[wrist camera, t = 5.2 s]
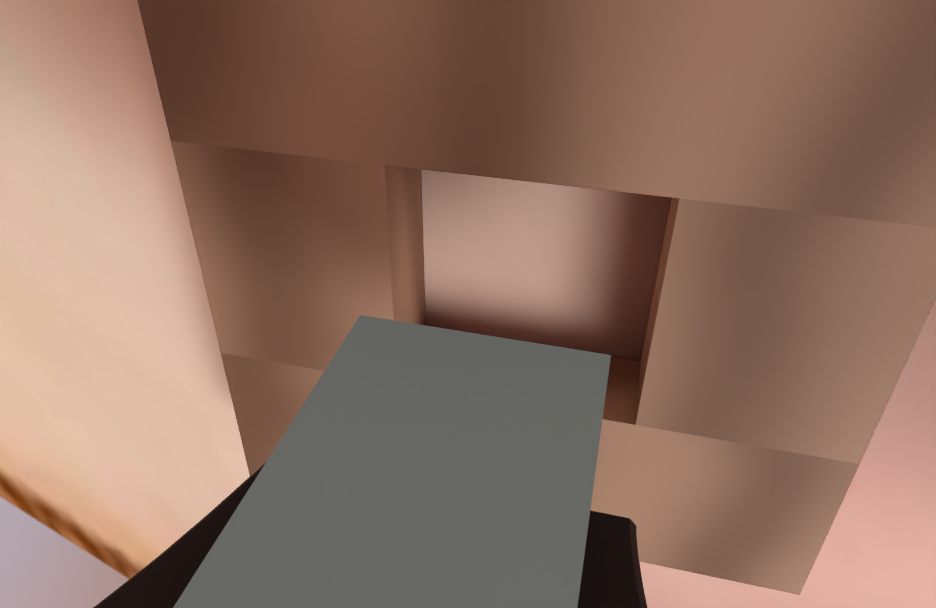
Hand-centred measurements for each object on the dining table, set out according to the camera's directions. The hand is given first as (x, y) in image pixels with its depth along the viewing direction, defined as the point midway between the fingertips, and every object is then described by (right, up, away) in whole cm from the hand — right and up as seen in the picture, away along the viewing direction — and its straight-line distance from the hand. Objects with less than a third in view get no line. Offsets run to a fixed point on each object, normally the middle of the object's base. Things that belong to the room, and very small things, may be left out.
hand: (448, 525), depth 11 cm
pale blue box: (+1, +1, +2) cm, 2 cm away
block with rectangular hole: (+2, +5, +7) cm, 9 cm away
